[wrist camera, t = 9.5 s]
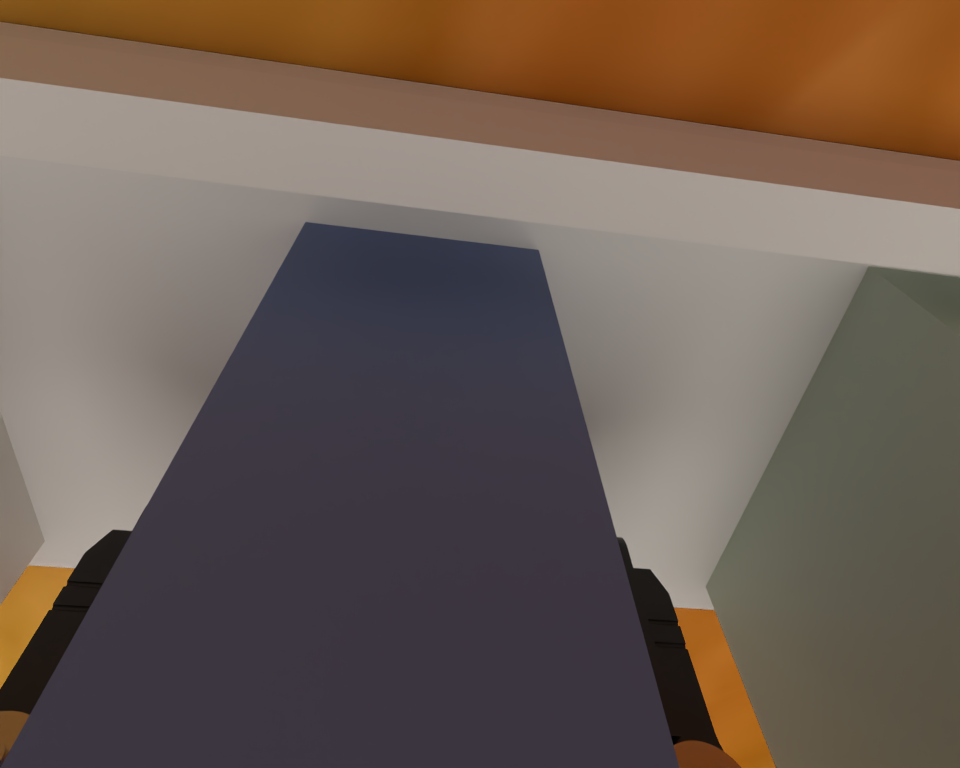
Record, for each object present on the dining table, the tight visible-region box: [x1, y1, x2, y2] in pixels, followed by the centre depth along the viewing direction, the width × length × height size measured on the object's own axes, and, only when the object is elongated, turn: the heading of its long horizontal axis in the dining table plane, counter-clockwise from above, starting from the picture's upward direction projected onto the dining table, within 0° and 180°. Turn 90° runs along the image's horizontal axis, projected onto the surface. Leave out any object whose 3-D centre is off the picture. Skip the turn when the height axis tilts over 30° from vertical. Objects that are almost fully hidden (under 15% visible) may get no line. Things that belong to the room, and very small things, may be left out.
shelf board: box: [0, 22, 960, 610], centre depth 13 cm, size 13×34×7 cm, turn 82°
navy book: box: [0, 222, 679, 768], centre depth 10 cm, size 9×4×11 cm, turn 172°
